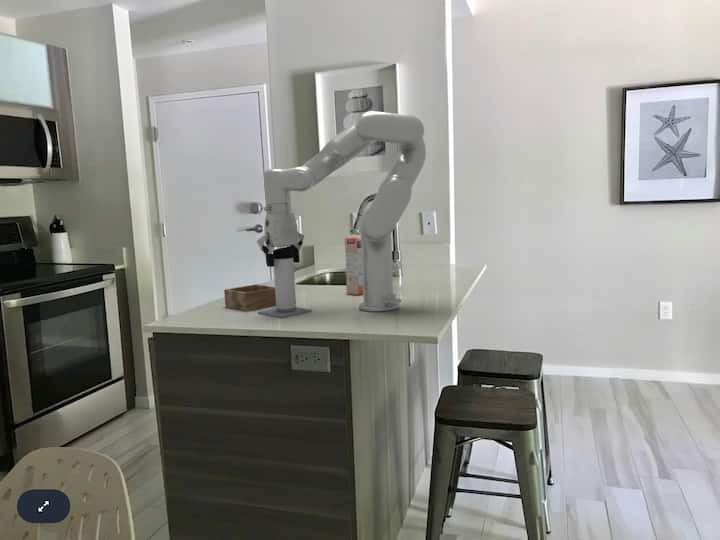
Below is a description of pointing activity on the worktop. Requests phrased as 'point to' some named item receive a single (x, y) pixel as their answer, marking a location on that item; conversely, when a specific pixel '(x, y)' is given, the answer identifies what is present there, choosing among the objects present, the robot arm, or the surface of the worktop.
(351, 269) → the cracker box
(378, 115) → the robot arm
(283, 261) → the travel mug
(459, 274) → the worktop surface
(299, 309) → the mat
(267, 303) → the crate
